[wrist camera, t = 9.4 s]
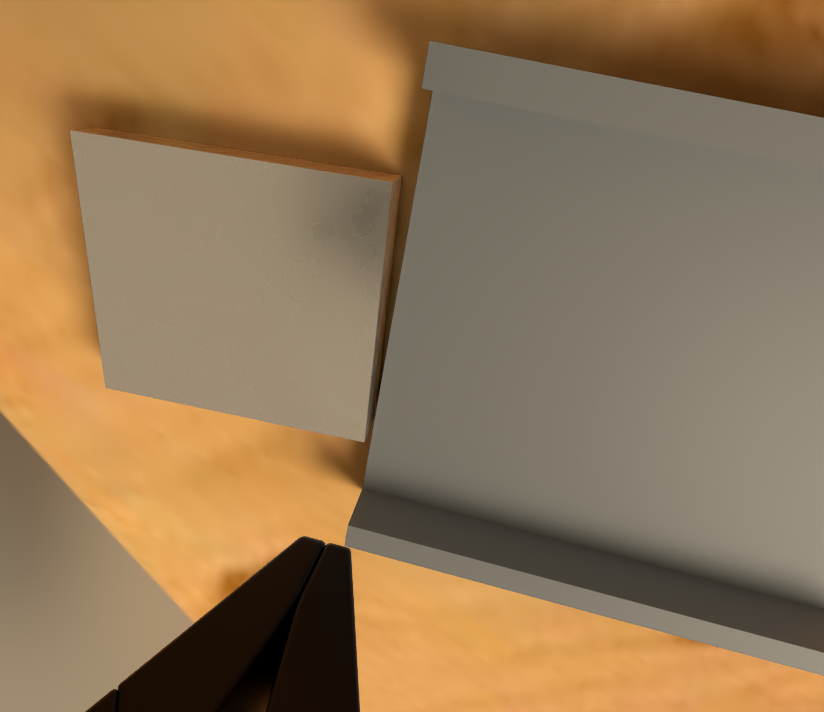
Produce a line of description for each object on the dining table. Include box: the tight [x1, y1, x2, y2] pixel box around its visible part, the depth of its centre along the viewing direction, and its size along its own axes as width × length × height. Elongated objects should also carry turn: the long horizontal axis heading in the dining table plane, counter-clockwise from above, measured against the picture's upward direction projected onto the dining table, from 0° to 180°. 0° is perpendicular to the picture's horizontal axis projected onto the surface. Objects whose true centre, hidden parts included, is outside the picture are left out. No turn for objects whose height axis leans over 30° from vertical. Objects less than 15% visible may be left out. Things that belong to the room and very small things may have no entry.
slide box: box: [345, 41, 824, 676], centre depth 17 cm, size 18×16×3 cm
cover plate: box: [70, 128, 402, 442], centre depth 19 cm, size 10×9×2 cm
